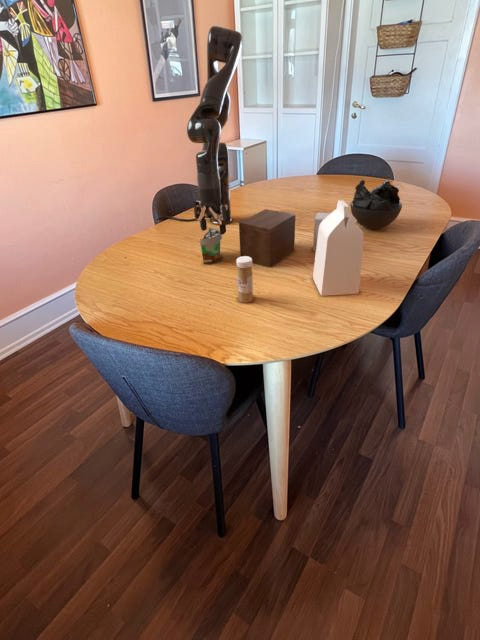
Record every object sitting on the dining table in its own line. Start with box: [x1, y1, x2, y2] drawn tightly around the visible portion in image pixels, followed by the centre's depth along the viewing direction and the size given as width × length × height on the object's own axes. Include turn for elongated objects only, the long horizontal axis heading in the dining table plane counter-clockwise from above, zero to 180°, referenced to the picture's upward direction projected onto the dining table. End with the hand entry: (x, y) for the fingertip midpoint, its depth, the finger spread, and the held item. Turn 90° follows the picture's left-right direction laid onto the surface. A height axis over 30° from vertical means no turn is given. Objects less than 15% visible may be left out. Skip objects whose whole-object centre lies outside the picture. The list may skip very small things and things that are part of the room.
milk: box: [312, 199, 365, 297], centre depth 114 cm, size 12×12×26 cm
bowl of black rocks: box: [350, 179, 403, 230], centre depth 156 cm, size 20×20×19 cm
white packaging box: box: [312, 212, 332, 252], centre depth 142 cm, size 7×7×13 cm
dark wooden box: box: [238, 208, 296, 268], centre depth 139 cm, size 13×17×14 cm
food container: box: [199, 227, 223, 265], centre depth 139 cm, size 12×6×10 cm, turn 168°
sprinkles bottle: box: [236, 256, 254, 303], centre depth 113 cm, size 5×5×13 cm
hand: (213, 232), depth 136 cm, fingers open, 8 cm apart
